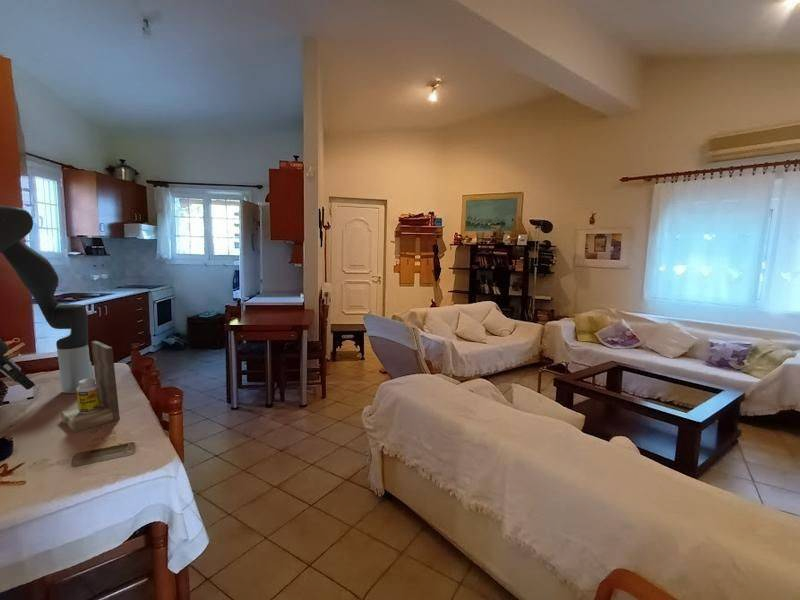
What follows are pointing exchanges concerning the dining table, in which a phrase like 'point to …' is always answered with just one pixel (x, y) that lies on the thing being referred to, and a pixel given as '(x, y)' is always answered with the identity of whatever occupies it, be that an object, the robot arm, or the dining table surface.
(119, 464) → the dining table surface
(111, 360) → the wooden bookend
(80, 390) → the supplement bottle
